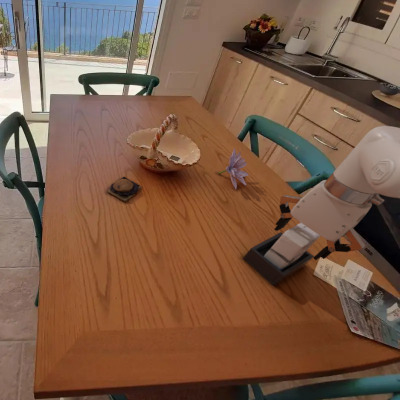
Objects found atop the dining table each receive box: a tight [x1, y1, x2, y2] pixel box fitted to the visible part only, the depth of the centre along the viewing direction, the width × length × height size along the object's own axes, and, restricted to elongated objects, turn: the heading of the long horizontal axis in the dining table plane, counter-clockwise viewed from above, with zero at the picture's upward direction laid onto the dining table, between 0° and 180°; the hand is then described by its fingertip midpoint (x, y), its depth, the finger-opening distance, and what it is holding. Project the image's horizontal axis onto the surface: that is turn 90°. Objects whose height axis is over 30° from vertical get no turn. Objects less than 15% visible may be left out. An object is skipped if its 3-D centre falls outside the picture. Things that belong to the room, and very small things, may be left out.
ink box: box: [264, 222, 321, 271], centre depth 68 cm, size 9×5×12 cm, turn 118°
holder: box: [242, 231, 315, 287], centre depth 71 cm, size 9×13×5 cm
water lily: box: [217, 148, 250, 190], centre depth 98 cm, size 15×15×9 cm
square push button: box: [107, 176, 141, 202], centre depth 90 cm, size 11×8×4 cm
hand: (297, 242), depth 65 cm, fingers open, 9 cm apart
